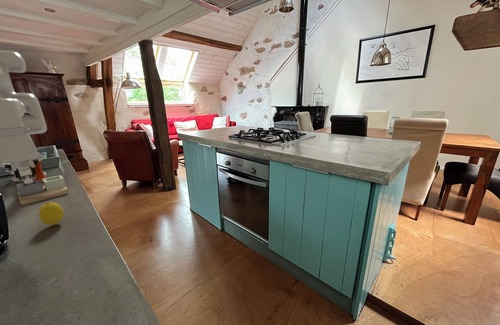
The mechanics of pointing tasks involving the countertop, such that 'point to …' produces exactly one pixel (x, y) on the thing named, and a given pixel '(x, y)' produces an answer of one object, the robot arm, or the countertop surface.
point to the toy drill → (39, 172)
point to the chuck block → (30, 188)
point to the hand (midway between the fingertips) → (27, 177)
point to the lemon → (51, 213)
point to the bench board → (43, 195)
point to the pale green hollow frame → (54, 183)
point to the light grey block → (26, 175)
